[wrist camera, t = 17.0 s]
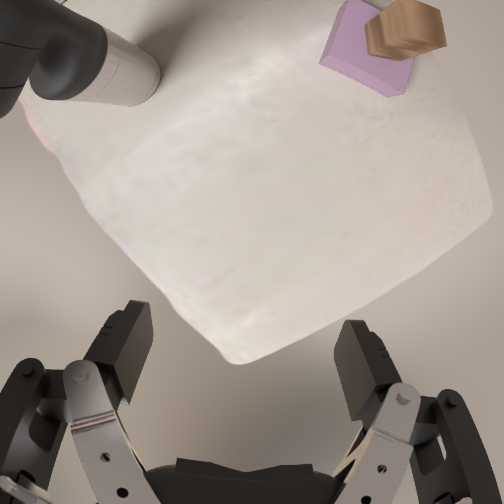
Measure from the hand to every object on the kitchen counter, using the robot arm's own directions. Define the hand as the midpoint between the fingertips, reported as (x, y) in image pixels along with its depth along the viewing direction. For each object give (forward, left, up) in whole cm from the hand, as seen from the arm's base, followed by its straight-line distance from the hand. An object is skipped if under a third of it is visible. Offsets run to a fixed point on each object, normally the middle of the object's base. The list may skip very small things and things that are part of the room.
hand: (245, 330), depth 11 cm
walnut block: (+7, +28, -27) cm, 40 cm away
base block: (+6, +28, -34) cm, 44 cm away
